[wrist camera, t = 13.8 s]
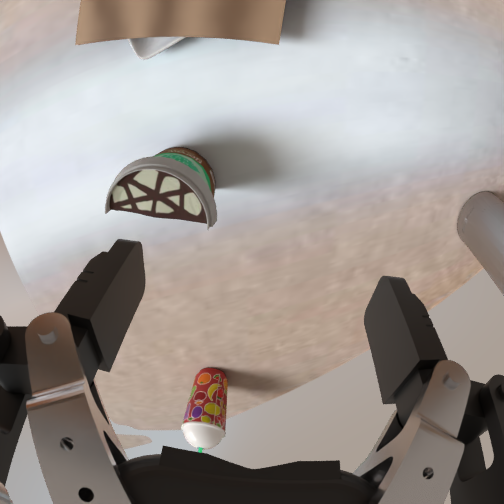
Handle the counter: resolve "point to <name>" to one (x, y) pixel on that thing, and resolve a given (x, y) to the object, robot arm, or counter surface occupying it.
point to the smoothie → (206, 410)
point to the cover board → (180, 19)
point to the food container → (166, 187)
